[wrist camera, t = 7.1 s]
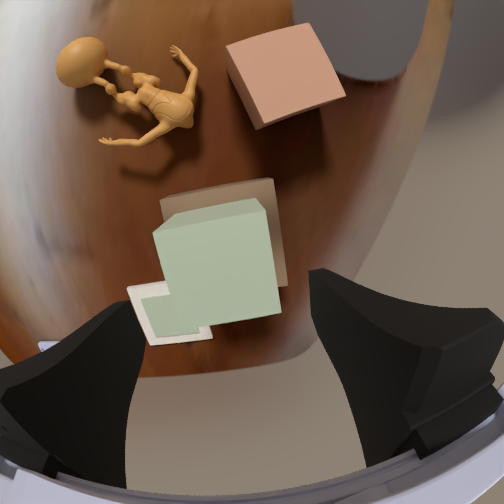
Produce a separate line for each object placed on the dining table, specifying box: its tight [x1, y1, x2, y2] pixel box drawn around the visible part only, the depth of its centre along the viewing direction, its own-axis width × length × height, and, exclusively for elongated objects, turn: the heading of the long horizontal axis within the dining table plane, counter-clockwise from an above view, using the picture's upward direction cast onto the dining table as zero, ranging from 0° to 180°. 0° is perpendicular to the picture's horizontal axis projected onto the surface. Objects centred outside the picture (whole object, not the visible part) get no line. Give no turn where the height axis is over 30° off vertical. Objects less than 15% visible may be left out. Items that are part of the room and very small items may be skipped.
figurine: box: [56, 37, 198, 147], centre depth 14 cm, size 8×6×12 cm
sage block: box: [153, 198, 281, 329], centre depth 15 cm, size 5×5×5 cm
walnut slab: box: [160, 177, 288, 287], centre depth 18 cm, size 7×7×3 cm
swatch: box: [127, 281, 213, 345], centre depth 22 cm, size 6×6×1 cm
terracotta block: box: [226, 23, 346, 130], centre depth 14 cm, size 5×5×5 cm
